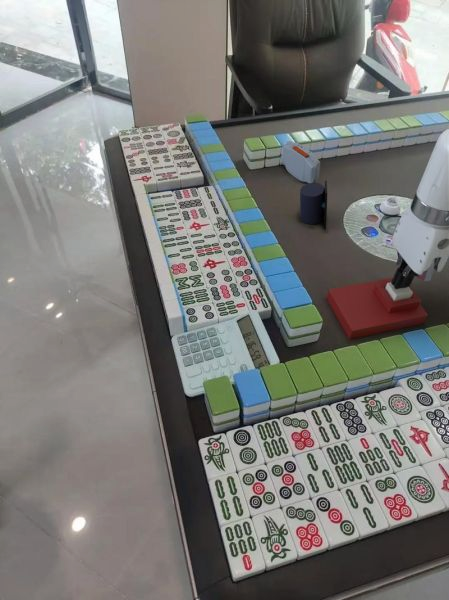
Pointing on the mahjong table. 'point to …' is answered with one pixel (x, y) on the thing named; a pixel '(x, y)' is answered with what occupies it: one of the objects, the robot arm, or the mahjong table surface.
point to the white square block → (398, 292)
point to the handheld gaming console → (300, 162)
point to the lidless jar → (390, 206)
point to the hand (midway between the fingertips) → (400, 285)
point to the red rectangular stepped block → (373, 309)
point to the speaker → (313, 203)
